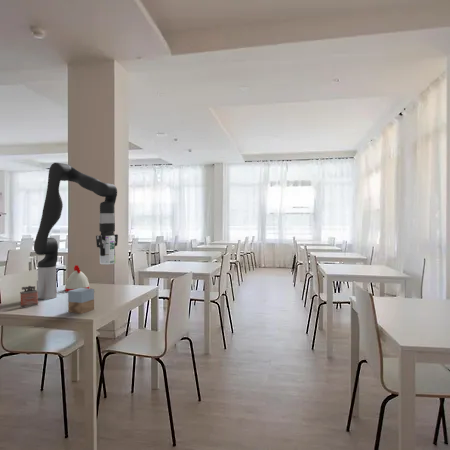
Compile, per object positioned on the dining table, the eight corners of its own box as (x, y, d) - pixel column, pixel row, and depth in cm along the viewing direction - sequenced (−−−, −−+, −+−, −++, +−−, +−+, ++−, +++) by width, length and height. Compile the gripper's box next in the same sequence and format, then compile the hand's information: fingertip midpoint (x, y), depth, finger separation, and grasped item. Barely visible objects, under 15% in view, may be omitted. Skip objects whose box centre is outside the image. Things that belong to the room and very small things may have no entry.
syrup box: (109, 264, 183) (109, 235, 183) (99, 264, 184) (99, 235, 184) (115, 263, 189) (115, 235, 188) (105, 263, 190) (105, 235, 190)
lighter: (36, 304, 187) (36, 284, 187) (39, 305, 185) (38, 285, 185) (19, 306, 181) (19, 286, 181) (21, 307, 179) (21, 287, 179)
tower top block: (68, 301, 170) (68, 290, 170) (80, 298, 178) (80, 287, 178) (81, 302, 167) (81, 292, 167) (94, 299, 175) (93, 288, 175)
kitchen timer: (84, 286, 237) (83, 263, 237) (92, 289, 227) (92, 265, 226) (61, 289, 227) (61, 265, 227) (70, 292, 217) (69, 267, 217)
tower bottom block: (68, 312, 170) (68, 301, 170) (81, 308, 178) (81, 298, 178) (81, 313, 167) (81, 302, 167) (94, 309, 175) (94, 299, 175)
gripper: (110, 222, 194) (110, 253, 194) (91, 222, 181) (91, 256, 181) (122, 222, 191) (122, 254, 192) (103, 222, 178) (103, 256, 178)
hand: (107, 255), depth 186 cm, fingers closed on syrup box, 6 cm apart
